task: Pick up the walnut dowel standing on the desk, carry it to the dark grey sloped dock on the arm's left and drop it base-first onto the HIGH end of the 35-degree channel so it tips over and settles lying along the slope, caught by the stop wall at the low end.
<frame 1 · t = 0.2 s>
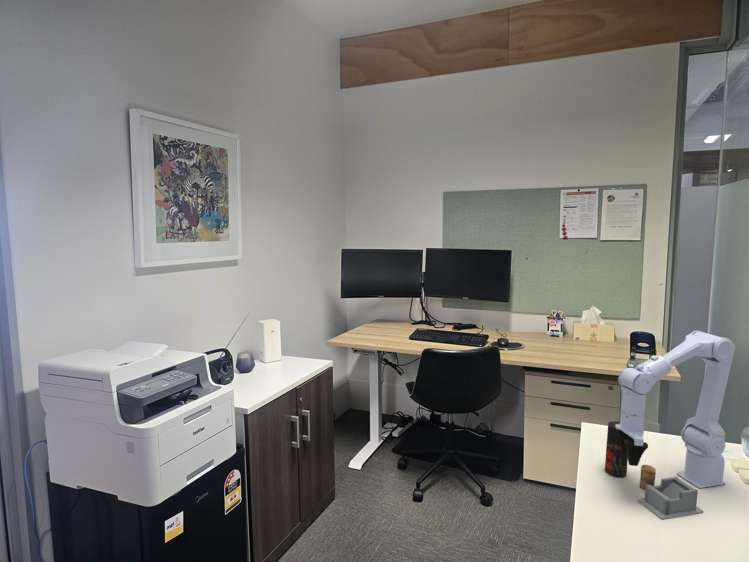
hand: (629, 458, 136), 10 cm above the table, fingers open, 7 cm apart
dowel: (646, 487, 139), on the table
socket: (669, 506, 130), on the table
deodorant: (615, 473, 147), on the table
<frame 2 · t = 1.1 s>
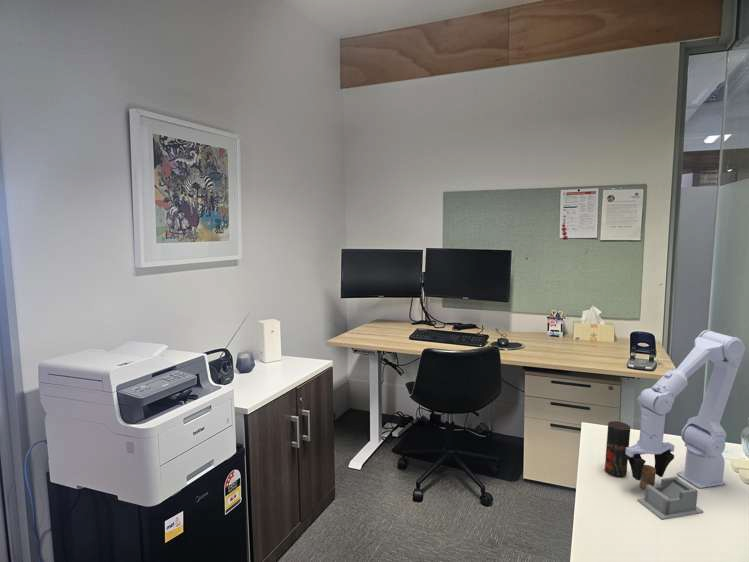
hand: (647, 476, 138), 3 cm above the table, fingers open, 7 cm apart
nothing on the table moved.
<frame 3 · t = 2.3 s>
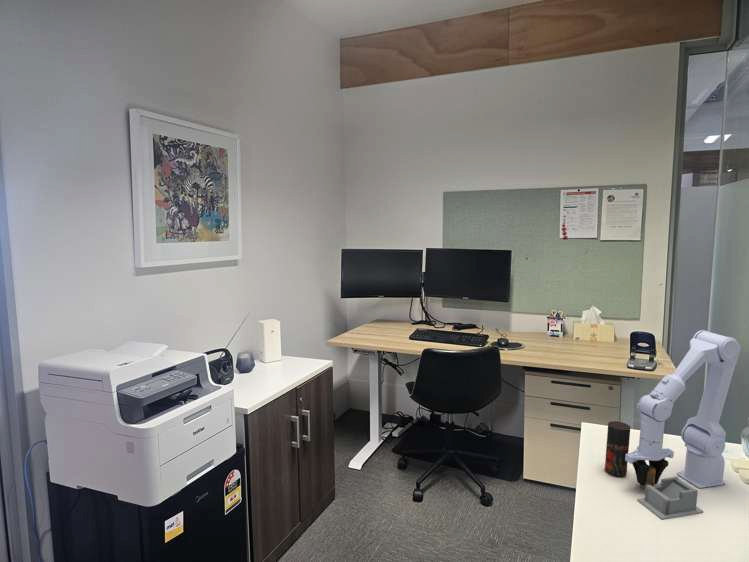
hand: (647, 482, 138), 1 cm above the table, fingers closed on dowel, 4 cm apart
dowel: (646, 487, 139), on the table, touching gripper
everything else where it was.
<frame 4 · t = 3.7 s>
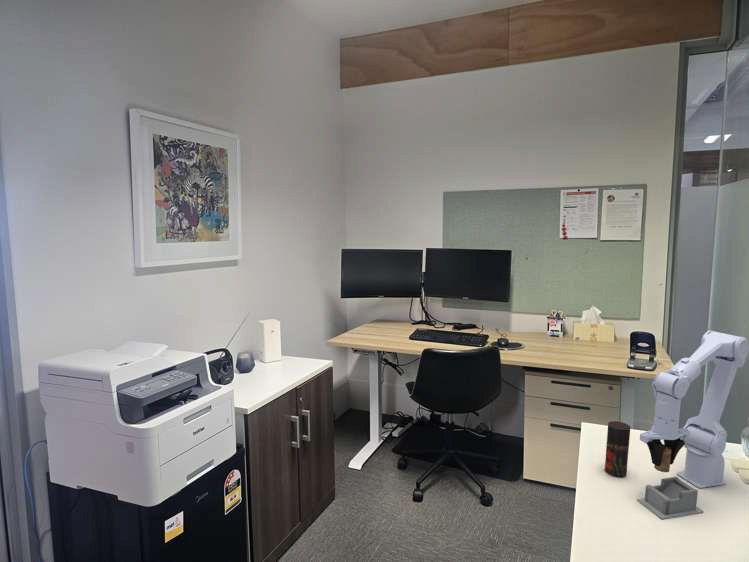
hand: (662, 463, 133), 9 cm above the table, fingers closed on dowel, 4 cm apart
dowel: (661, 468, 134), point 8 cm above the table, touching gripper
everything else where it was.
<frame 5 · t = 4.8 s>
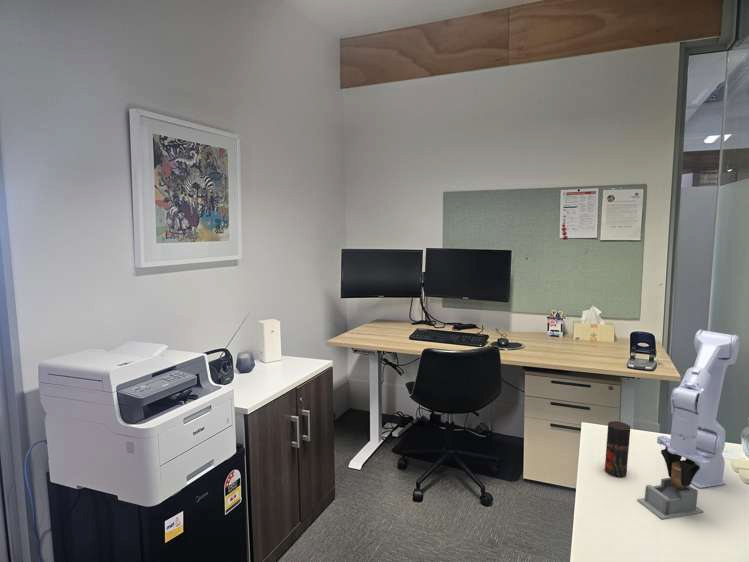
hand: (679, 480, 129), 7 cm above the table, fingers closed on dowel, 4 cm apart
dowel: (678, 485, 129), point 6 cm above the table, touching gripper, socket
everything else where it was.
when the fingers open (7 cm above the table, at t = 5.2 s): dowel stays where it is and tips over, resting on socket.
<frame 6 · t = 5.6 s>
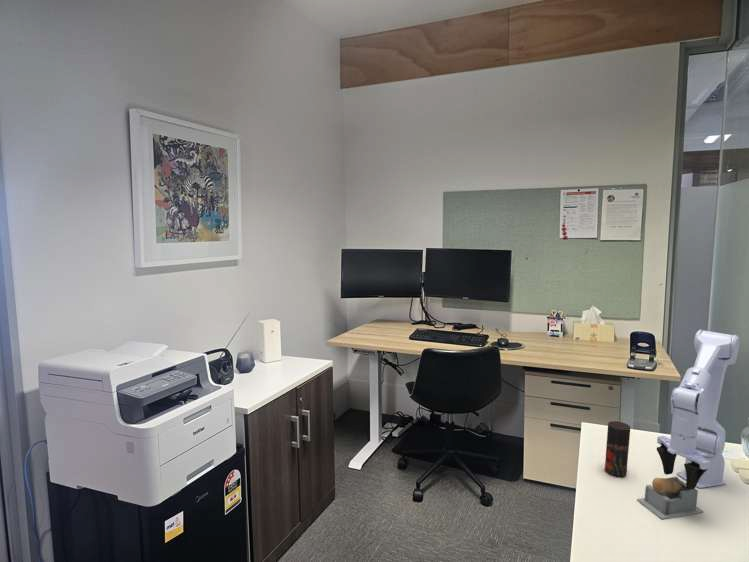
hand: (679, 480, 129), 7 cm above the table, fingers open, 7 cm apart
dowel: (675, 486, 129), point 6 cm above the table, tilted 78°, touching socket
everything else where it was.
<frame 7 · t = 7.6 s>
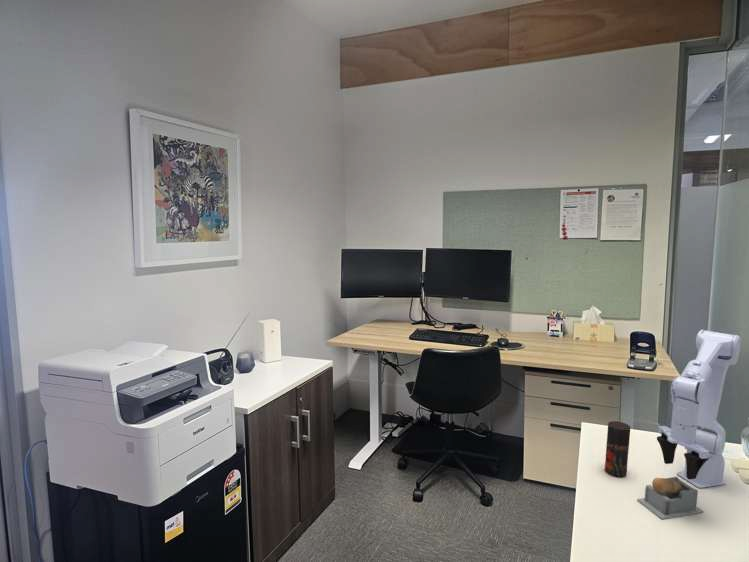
hand: (679, 470, 129), 10 cm above the table, fingers open, 7 cm apart
nothing on the table moved.
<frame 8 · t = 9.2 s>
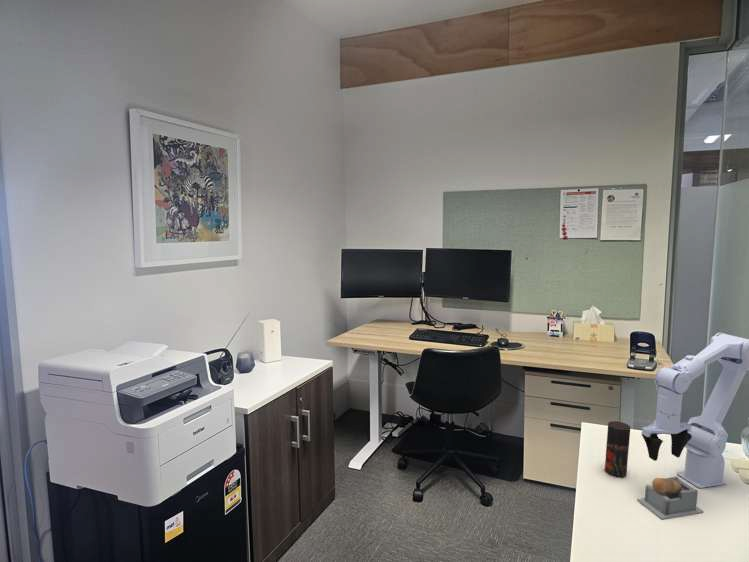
hand: (664, 457, 136), 10 cm above the table, fingers open, 7 cm apart
nothing on the table moved.
at the end: dowel 1.3 cm off-centre on the socket, point 5.6 cm above the socket's base; dowel tilted 78°; the gripper is holding nothing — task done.
